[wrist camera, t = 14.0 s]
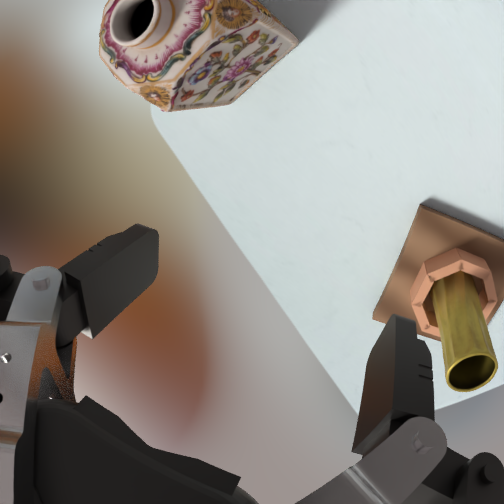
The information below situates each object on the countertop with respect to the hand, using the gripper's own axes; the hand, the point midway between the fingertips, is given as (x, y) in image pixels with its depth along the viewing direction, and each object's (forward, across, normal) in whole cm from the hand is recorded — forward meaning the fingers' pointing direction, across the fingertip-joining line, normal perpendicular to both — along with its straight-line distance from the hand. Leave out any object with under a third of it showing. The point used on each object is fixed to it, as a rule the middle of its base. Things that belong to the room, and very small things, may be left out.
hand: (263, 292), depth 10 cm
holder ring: (+27, -18, +11) cm, 34 cm away
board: (+28, -18, +11) cm, 35 cm away
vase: (+27, -18, +11) cm, 34 cm away
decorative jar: (+28, +15, -10) cm, 34 cm away
